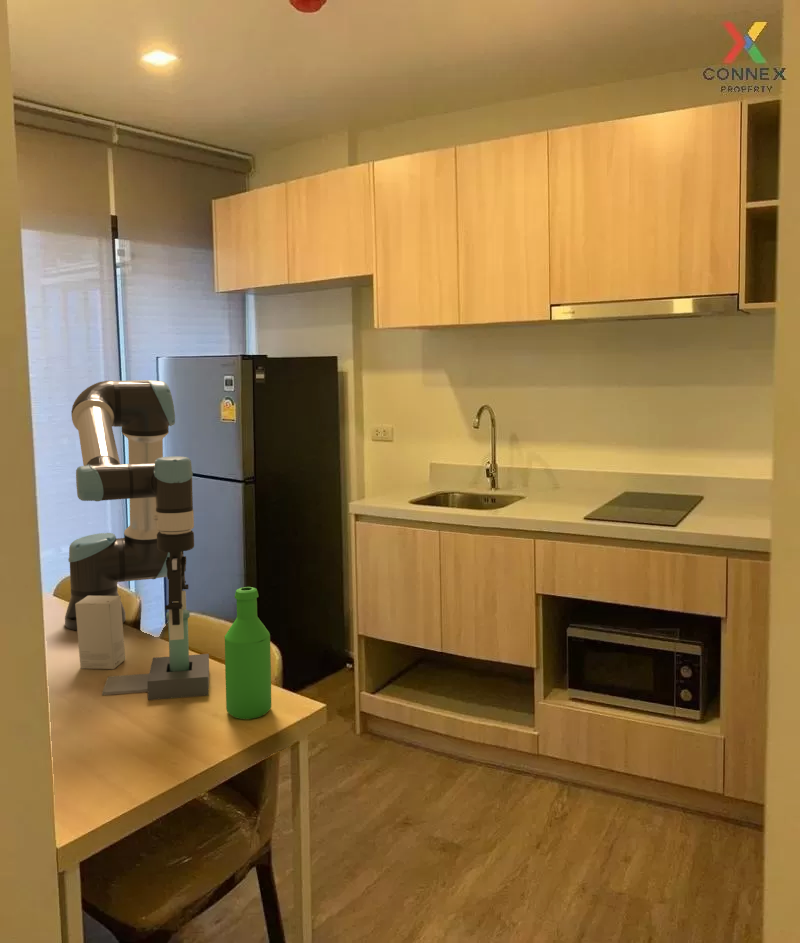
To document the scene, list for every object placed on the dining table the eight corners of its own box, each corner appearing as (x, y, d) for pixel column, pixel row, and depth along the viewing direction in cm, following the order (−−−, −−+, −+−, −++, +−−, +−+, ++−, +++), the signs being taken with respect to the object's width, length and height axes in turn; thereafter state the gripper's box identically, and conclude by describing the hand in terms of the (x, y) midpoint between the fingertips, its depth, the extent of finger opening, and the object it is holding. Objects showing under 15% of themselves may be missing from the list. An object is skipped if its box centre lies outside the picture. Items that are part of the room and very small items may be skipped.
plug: (169, 681, 177) (166, 610, 175) (191, 679, 178) (189, 608, 176) (167, 690, 172) (165, 616, 170) (191, 688, 173) (189, 615, 171)
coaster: (108, 679, 178) (107, 676, 178) (151, 676, 180) (150, 673, 180) (102, 695, 169) (102, 692, 169) (147, 691, 171) (147, 689, 171)
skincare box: (125, 660, 190) (123, 595, 188) (113, 670, 183) (110, 603, 181) (91, 659, 191) (88, 594, 189) (77, 669, 184) (74, 602, 182)
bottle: (263, 699, 168) (261, 581, 164) (277, 715, 160) (275, 591, 157) (221, 707, 163) (218, 586, 160) (233, 724, 156) (230, 597, 153)
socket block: (153, 675, 181) (152, 657, 180) (209, 671, 183) (208, 653, 183) (148, 700, 167) (147, 681, 167) (208, 695, 170) (207, 676, 169)
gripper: (160, 521, 182) (164, 613, 185) (151, 543, 158) (155, 649, 160) (195, 519, 184) (198, 611, 186) (191, 541, 160) (194, 646, 162)
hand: (178, 629), depth 173 cm, fingers open, 13 cm apart
